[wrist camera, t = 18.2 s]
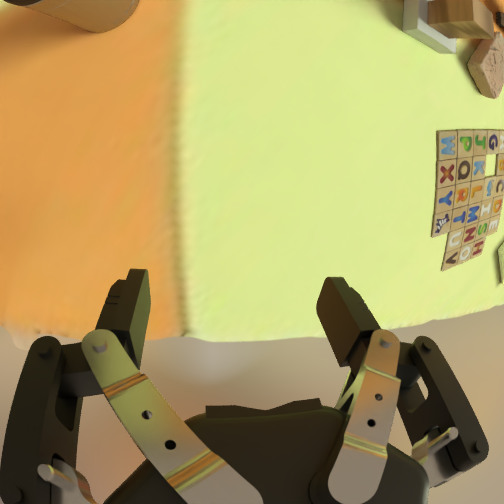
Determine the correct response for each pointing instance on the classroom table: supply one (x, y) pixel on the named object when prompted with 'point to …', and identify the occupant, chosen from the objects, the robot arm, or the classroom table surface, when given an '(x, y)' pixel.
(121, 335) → the robot arm
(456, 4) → the walnut block
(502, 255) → the toy tray rim
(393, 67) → the classroom table surface
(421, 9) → the foundation slab
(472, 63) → the brick
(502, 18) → the figurine
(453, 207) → the alphabet tiles
